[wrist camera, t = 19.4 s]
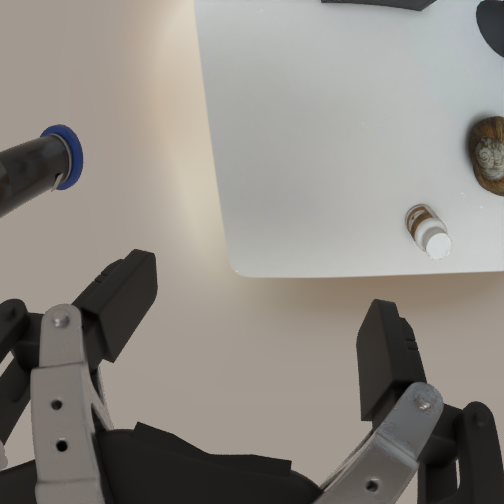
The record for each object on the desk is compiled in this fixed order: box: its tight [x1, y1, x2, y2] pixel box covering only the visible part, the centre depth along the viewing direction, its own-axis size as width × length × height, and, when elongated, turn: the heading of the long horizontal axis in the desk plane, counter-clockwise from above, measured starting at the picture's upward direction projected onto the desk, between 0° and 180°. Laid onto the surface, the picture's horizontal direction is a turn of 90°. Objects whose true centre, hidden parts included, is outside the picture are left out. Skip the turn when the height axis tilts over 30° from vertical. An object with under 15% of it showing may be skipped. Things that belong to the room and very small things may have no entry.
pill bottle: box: [406, 205, 452, 260], centre depth 32 cm, size 4×4×8 cm
